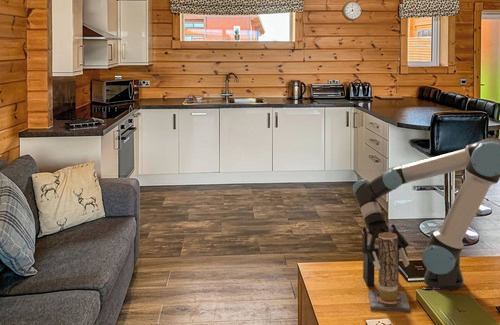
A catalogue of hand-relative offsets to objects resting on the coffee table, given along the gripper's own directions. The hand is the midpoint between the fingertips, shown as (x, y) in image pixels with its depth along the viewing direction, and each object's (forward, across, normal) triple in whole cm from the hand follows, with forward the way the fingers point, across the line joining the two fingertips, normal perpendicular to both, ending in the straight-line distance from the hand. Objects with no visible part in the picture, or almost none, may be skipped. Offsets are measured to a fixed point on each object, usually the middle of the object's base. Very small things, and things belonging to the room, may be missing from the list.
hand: (392, 267), depth 182 cm
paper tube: (+8, 0, -12) cm, 14 cm away
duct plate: (+9, 0, -13) cm, 15 cm away
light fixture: (-4, -7, -25) cm, 27 cm away
